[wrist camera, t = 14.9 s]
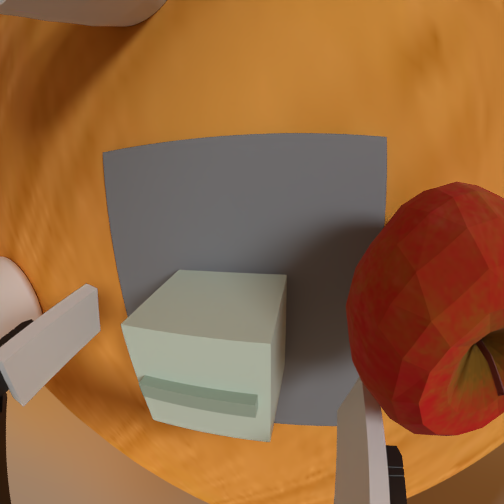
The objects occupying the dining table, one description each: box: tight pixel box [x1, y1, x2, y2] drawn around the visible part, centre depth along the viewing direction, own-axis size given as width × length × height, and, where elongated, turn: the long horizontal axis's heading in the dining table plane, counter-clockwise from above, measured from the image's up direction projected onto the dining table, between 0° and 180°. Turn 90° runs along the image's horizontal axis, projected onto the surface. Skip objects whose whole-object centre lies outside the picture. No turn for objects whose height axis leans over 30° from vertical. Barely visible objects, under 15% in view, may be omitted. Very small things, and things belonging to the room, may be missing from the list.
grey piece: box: [103, 133, 387, 426], centre depth 15 cm, size 20×16×5 cm
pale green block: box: [121, 270, 287, 442], centre depth 14 cm, size 6×6×7 cm
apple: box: [346, 182, 504, 436], centre depth 9 cm, size 9×8×11 cm
